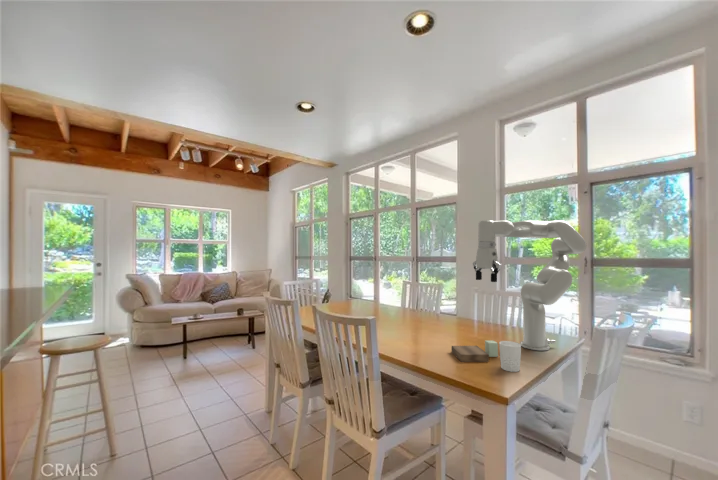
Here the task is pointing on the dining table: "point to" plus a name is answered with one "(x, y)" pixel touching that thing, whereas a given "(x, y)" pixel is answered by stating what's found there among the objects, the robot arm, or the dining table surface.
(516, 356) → the white cup
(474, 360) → the walnut base
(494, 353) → the sage block
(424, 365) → the dining table surface
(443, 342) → the dining table surface
